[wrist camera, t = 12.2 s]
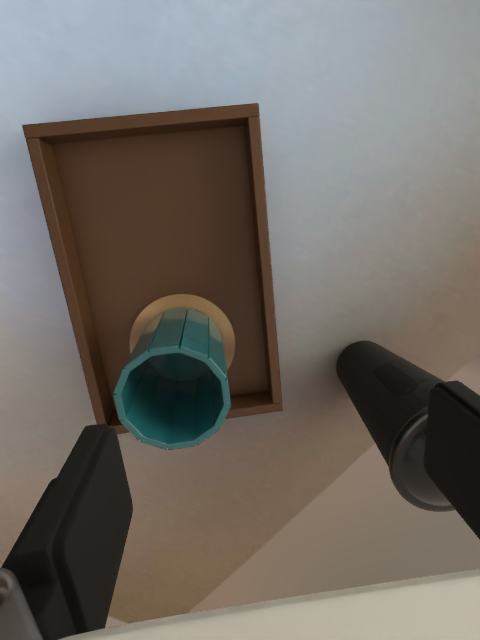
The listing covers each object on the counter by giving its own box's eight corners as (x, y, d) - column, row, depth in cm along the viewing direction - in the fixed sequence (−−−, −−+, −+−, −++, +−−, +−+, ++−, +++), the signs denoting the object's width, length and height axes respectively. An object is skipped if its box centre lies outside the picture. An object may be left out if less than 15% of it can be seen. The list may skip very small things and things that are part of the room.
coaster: (120, 300, 30) (119, 301, 30) (229, 287, 30) (229, 288, 30) (140, 397, 32) (139, 399, 32) (240, 384, 33) (240, 385, 33)
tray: (42, 134, 27) (21, 125, 24) (252, 114, 27) (258, 102, 24) (109, 416, 33) (99, 436, 30) (276, 393, 34) (282, 411, 31)
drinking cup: (309, 391, 34) (437, 613, 15) (338, 316, 33) (526, 463, 13) (381, 409, 36) (581, 635, 17) (413, 338, 34) (681, 501, 15)
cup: (135, 312, 30) (103, 354, 21) (218, 302, 30) (222, 339, 21) (149, 387, 32) (126, 456, 23) (227, 377, 32) (235, 440, 23)
